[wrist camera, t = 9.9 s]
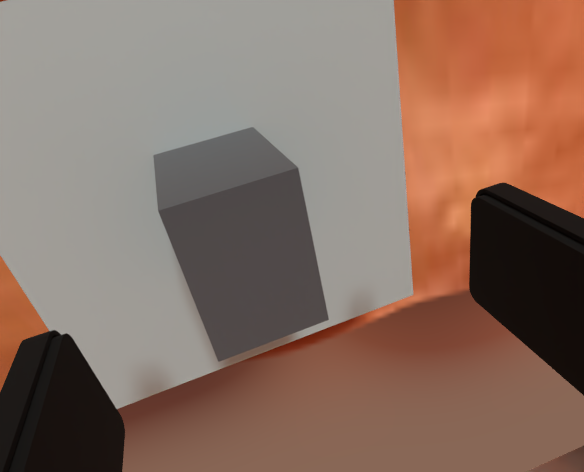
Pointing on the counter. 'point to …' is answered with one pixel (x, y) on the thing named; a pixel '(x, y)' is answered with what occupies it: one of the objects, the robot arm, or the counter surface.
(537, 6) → the counter surface
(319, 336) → the counter surface
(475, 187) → the counter surface
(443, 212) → the counter surface
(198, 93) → the lid
